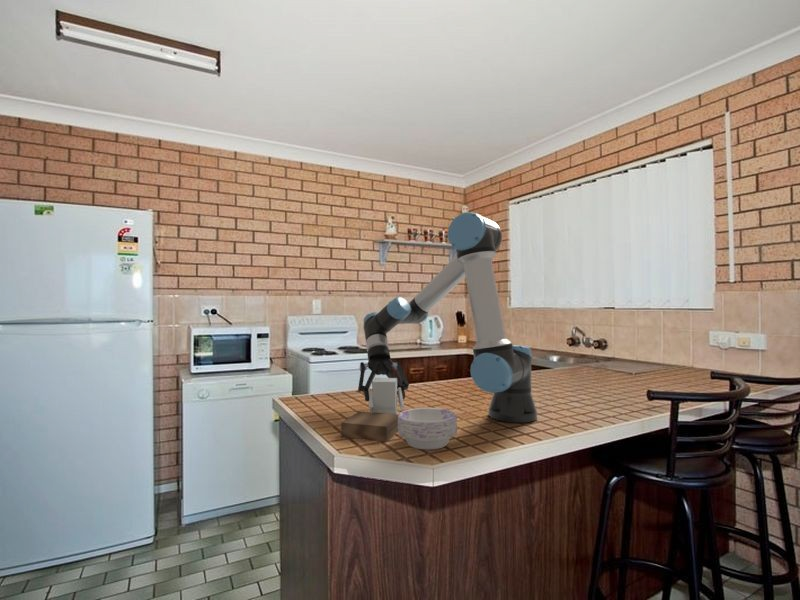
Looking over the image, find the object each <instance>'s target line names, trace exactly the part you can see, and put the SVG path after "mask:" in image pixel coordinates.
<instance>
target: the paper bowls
mask: <svg viewBox="0 0 800 600" xmlns="http://www.w3.org/2000/svg"><path fill="white" fill-rule="evenodd" d="M398 414H399V415H398V432H397V433H398V434H399V436H400V437H402V438H404V440H405V441H406V443H407V444H408V445H409V446H410V447H412V448H414V449H418V450H424V451H425V450H426V451H429V450H431V451H432V450H439V449H442V448H444V447H446V446H447V445H448V443H449V441H450V439H452V438H454V437H455V436H456V435H457V432H458V423H457V422H458V421H457V420H458V419H457V418H458V417H457V414H456V412H454V411H452V410H449V409H445V408H440V407H439V408H437V407H417V408H410V409H406V410H402V411H401V412H400V413H398Z"/></svg>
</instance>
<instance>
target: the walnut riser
mask: <svg viewBox="0 0 800 600" xmlns="http://www.w3.org/2000/svg"><path fill="white" fill-rule="evenodd" d="M398 415H399V413H397V414H386V413H374V412H370V411H357V412H356V413H354V414H353V415H351V416H349V417H348V418H347V419H344V420H343V421H342V422H340V426H341V427H340V429H341V430H340V435H341V436H340V438H342V437H347V438H346V439H352V438H355V439H354V440H362V439H364V440H365V441H373V442H381V441H383V442H382V443H387V442H388V441H390V440H391V439H392V438H393V437H394V436H395V435H396V434H397V433H398Z"/></svg>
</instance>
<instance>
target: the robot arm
mask: <svg viewBox="0 0 800 600" xmlns="http://www.w3.org/2000/svg"><path fill="white" fill-rule="evenodd" d="M447 239H448V241H449V244H450V245H451V246H452V247H453V248H454V249H455V252H456V255H455V256H454V257H453V258H452V259H451V260H450V261H449V262H448V263H447V264H446V265H445V266H444V267H443V268H442V269H441V270H440V271H439V272H438V273H437V274H436V275H435V276H434V277H433V278H432V279H431V280H430V281H429V282H428V283H427V285H425V286H424V288H422V289H421V290H420V292H418V293H417V295H415V297H413V298H412V299H411V300H410V301H407V300H406V299H405V298H403V297H402V296H396V297H394V298H393V299H392V300H391V301H389V302H388V303H387V304H386V305H385V306H384V307H383V308H381V310H379V312H375V311H373V312H370V313H367V314H366V315H365V316H364V318H363V331H364V337H365V346H366V351H367V352H366V354H367V361H368V362H367V363H364V362H363V361H361V362H360V363H359V371H360V375H359V382H358V389H357V391H358V392H363V395H364V401H365V402H368V408H369V412H372V410H373V401H372V388H370V387H372V381H373V380H374V379H375V378H376V376H380V375H383V376H386V378H397V401H398V405H399V410H400V411H404V407H405V403H404V400H405V398H406V393H405V391H407V390H408V389H409V386H410V382H409V381H408V379H407V376H406V375H405V372H404V370H403V368H402V362H401V361H399V360H398V361H397V362H393V360H392V358H391V353H390V347H389V343H388V336H387V334H388V333H389V332H390V331H392V330H393V329H394V328H396V326H397V325H405V324H413V325H414V324H420V323H423V322H425V321H427V319H428V316H429V312H430V311H431V310H433V308H434V307H435V306H436V305H438V303H440V302H441V301H443V299H444V298H445V297H446V296H447V295H448V294H450V292H451V291H452V290H453V289H455V288H456V286H458V285H459V284H460V283H461V282H462V281H463V280H464V279H465V280H466V286H467V292H468V298H469V304H470V310H471V315H472V322H473V326H474V327H473V328H474V329H473V330H474V334H475V339H476V340H475V341H476V342H475V345H474V346H473V347H472V350H473V351H472V353H473V360H472V362H471V365H470V376H471V379H472V382H474V384H475V385H476V386H477V387H478V388H479V389H481V391H483V392H486V393H489V394H491V393H492V398H491V401H490V402H489V403H490V404H489V407H488V417H489V416H490V417H489V418H491V419H493V420H495V419H496V420H497V421H499V420H500V421H501V422H504V421H505V423H506V422H507V423H513V422H514V423H516V424H522V423H523V424H524V423H531V421H532V422H535V421H537V420H538V411H537V408H536V405H535V404H536V403H535V402H534V398H533V395H532V360H533V358H532V357H533V356H532V351H531V348H530V347H528V346H526V345H525V346H524V345H515V344H514V345H513V342H512V341H510V339H508V338H507V337H506V332H505V327H504V321H503V316H502V310H501V304H500V300H499V299H500V298H499V292H498V288H497V281H496V278H495V277H496V276H495V271H494V266H493V265H494V264H493V258H494V257H495V255H497V254H496V252H497V251H498V250H499V248H500V246H501V244H502V239H503V233H502V230H501V228H500V226H499V225H498V224H497V222H495V221H494V220H492V219H489V218H487V217H485V216H483V215H481V214H480V213H477V212H471V211H466V212H462V213H460V214H458V215H456V216H455V217H454V218H453V219H452V221H451V223H450V224H449V226H448V229H447ZM367 368H368V369H369V371H371V372H370V373H369V376H368V379H367V381H366V383H365V385H363V384H364V381H365V373H366V370H367ZM393 368H394V370H395V371H396V373H397V375H396V373H395V372H394V370H393ZM536 419H537V420H536Z"/></svg>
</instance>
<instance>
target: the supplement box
mask: <svg viewBox="0 0 800 600" xmlns="http://www.w3.org/2000/svg"><path fill="white" fill-rule="evenodd" d="M397 391H398V389H397V378H389V377H374V379H373V381H372V383H371V393H372V401H373V410H372V412H374V413H386V414H398V394H397Z"/></svg>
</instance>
